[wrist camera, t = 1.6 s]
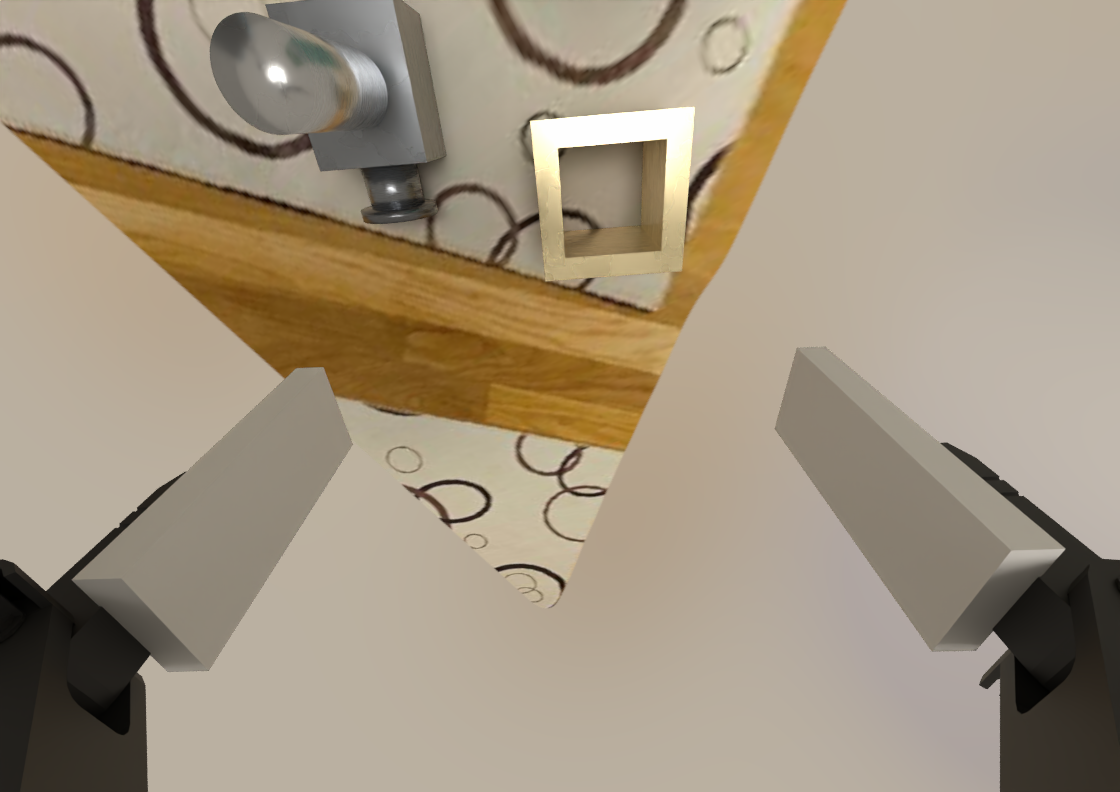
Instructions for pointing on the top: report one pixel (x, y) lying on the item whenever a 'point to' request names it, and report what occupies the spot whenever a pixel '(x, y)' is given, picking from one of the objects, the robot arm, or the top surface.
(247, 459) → the robot arm
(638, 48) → the top surface
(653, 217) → the collar
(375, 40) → the valve
